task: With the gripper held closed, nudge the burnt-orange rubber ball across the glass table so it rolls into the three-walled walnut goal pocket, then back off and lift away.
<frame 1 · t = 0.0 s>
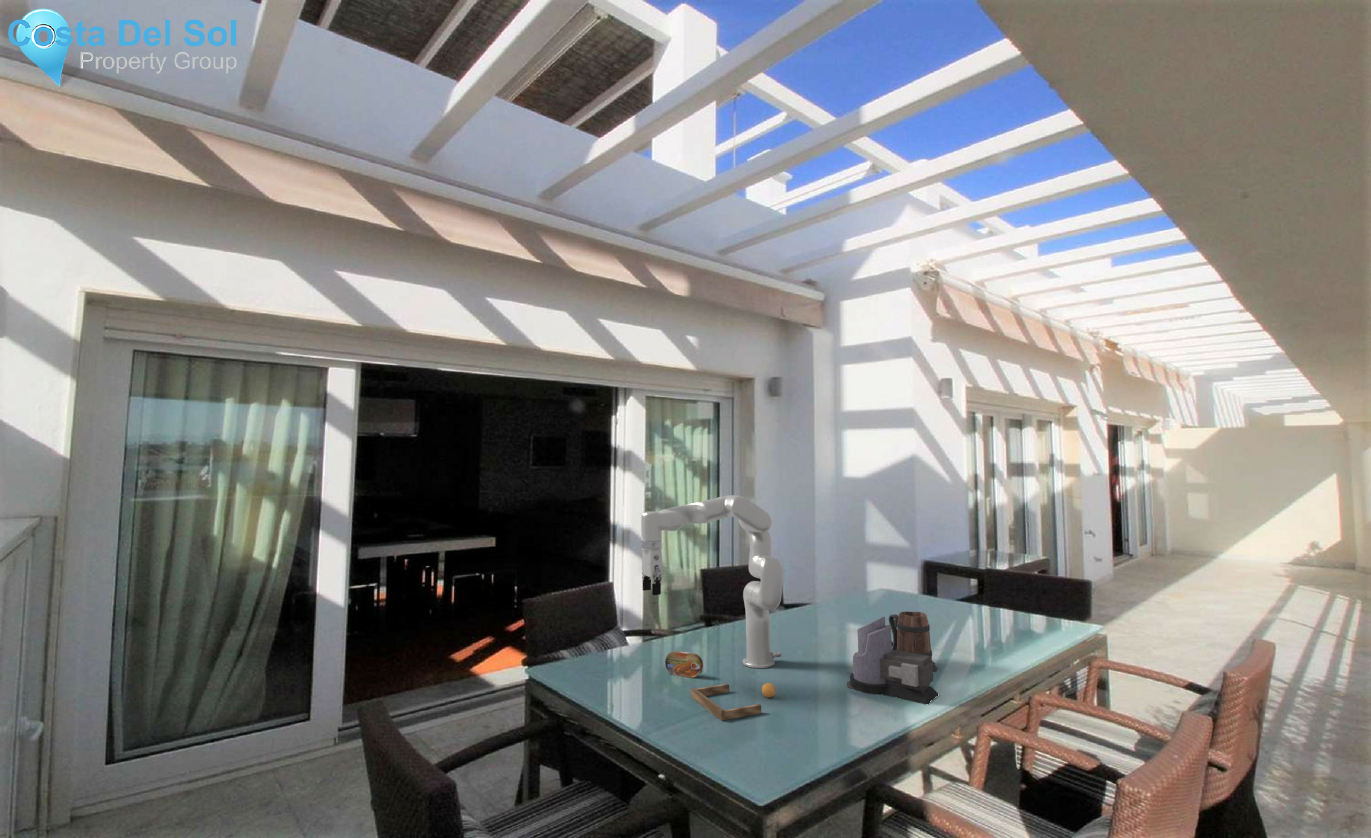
hand: (651, 592, 228), 31 cm above the table, tool pointing down, fingers open, 9 cm apart
ball: (768, 690, 207), point 2 cm above the table
juicer: (889, 690, 213), on the table
goal pocket: (724, 705, 200), on the table
tin: (684, 676, 230), on the table
tankard: (908, 665, 241), on the table
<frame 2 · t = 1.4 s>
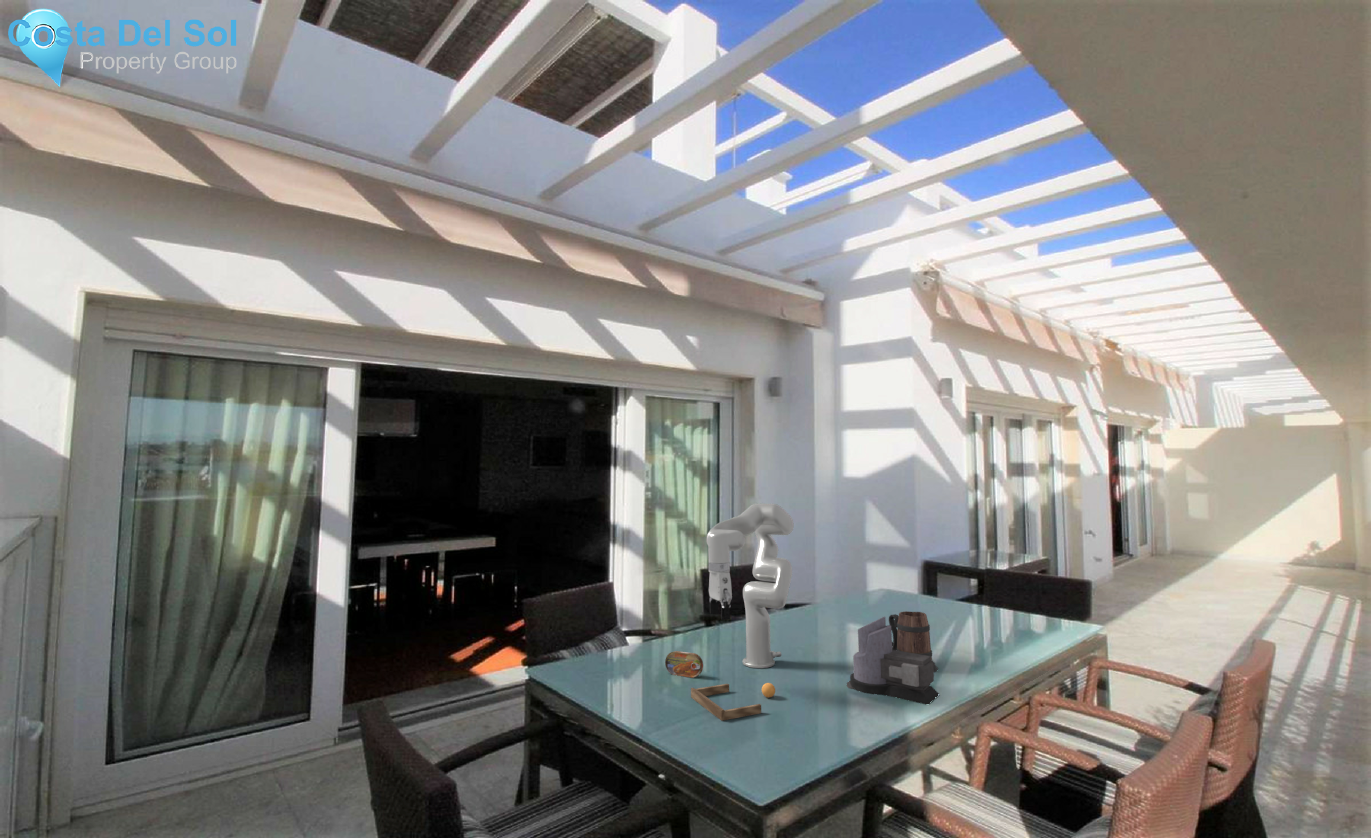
hand: (719, 616, 219), 24 cm above the table, tool pointing down, fingers open, 9 cm apart
nothing on the table moved.
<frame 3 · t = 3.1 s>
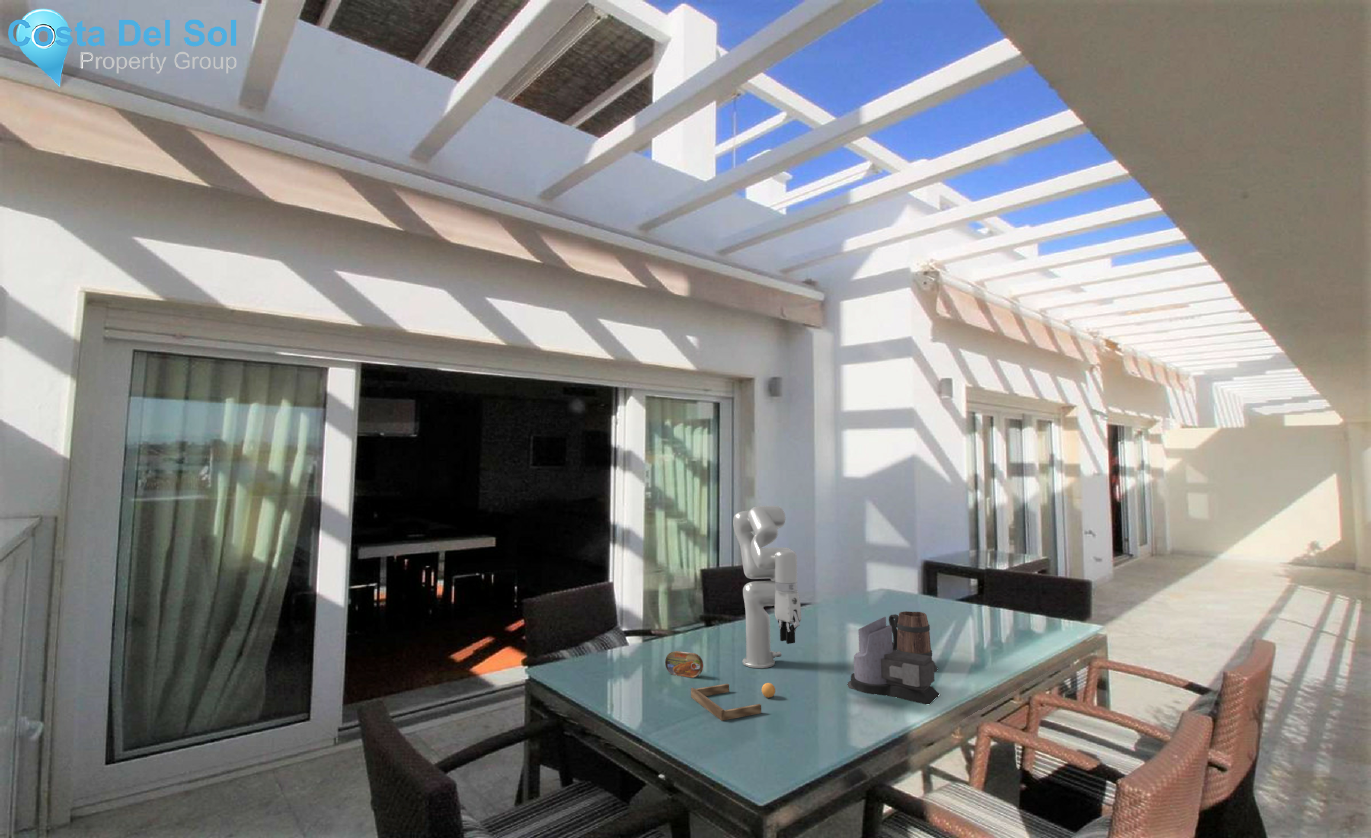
hand: (787, 641, 212), 17 cm above the table, tool pointing down, fingers open, 3 cm apart
nothing on the table moved.
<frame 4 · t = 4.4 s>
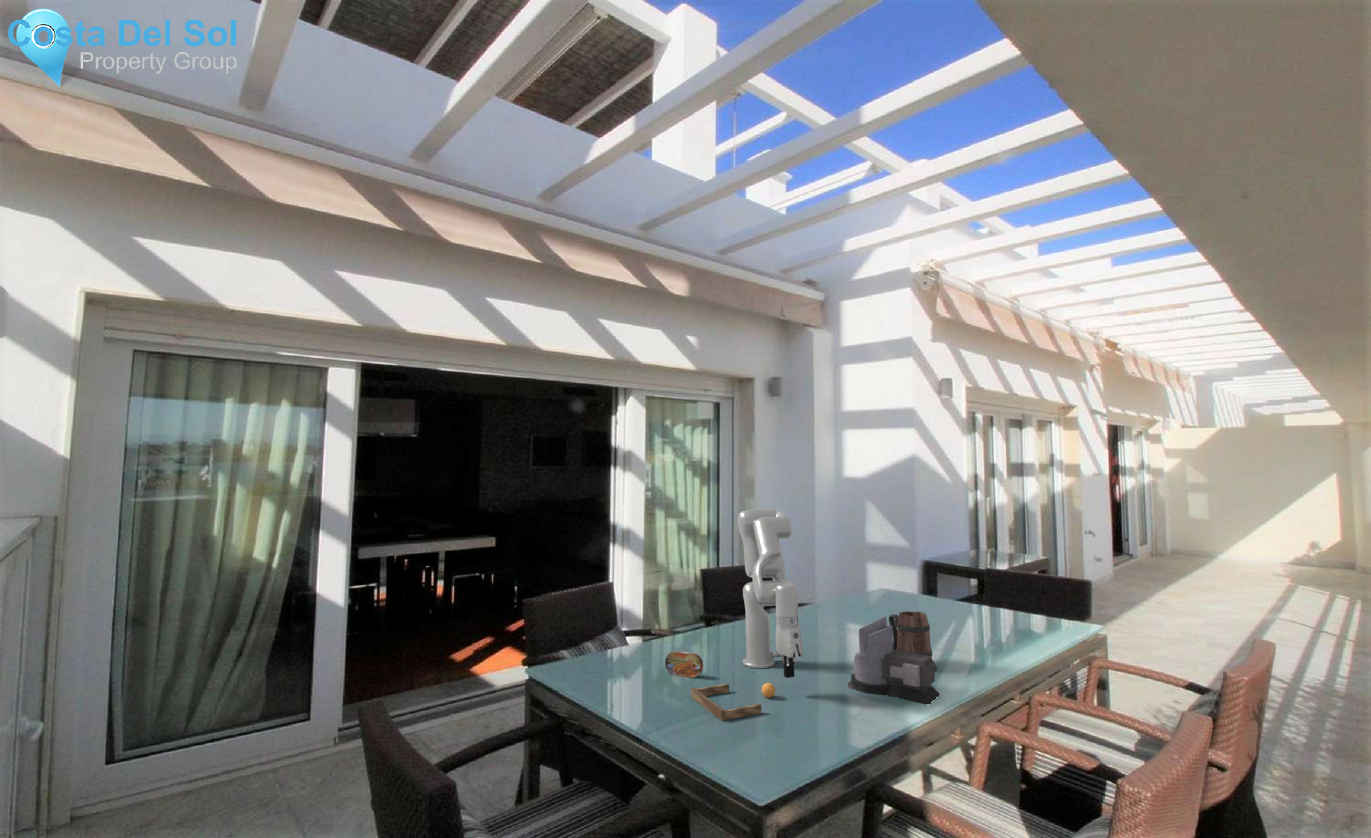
hand: (789, 676, 210), 6 cm above the table, tool pointing down, fingers closed
nothing on the table moved.
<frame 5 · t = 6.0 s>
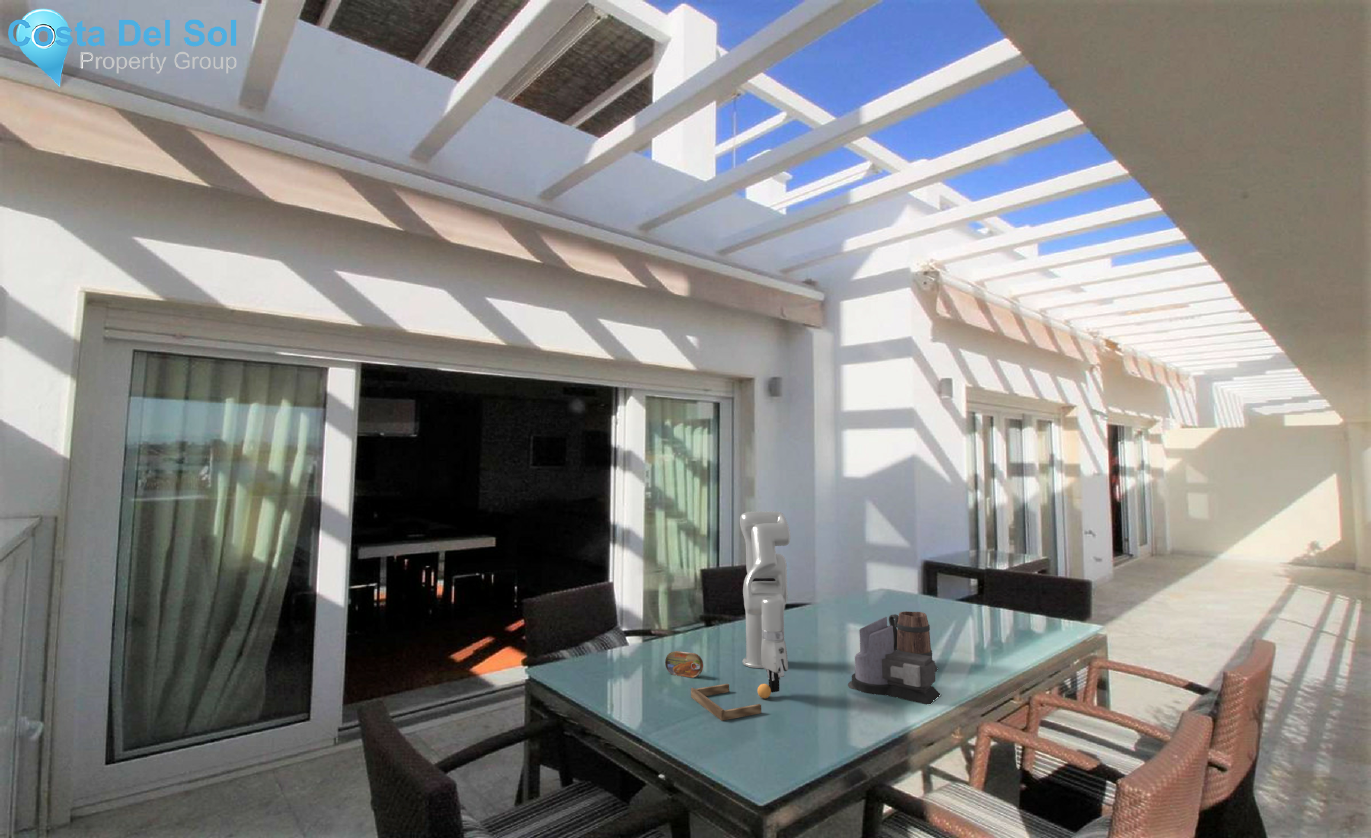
hand: (774, 691, 208), 2 cm above the table, tool pointing down, fingers closed
ball: (764, 691, 206), point 2 cm above the table, tilted 20°, touching gripper
everything else where it was.
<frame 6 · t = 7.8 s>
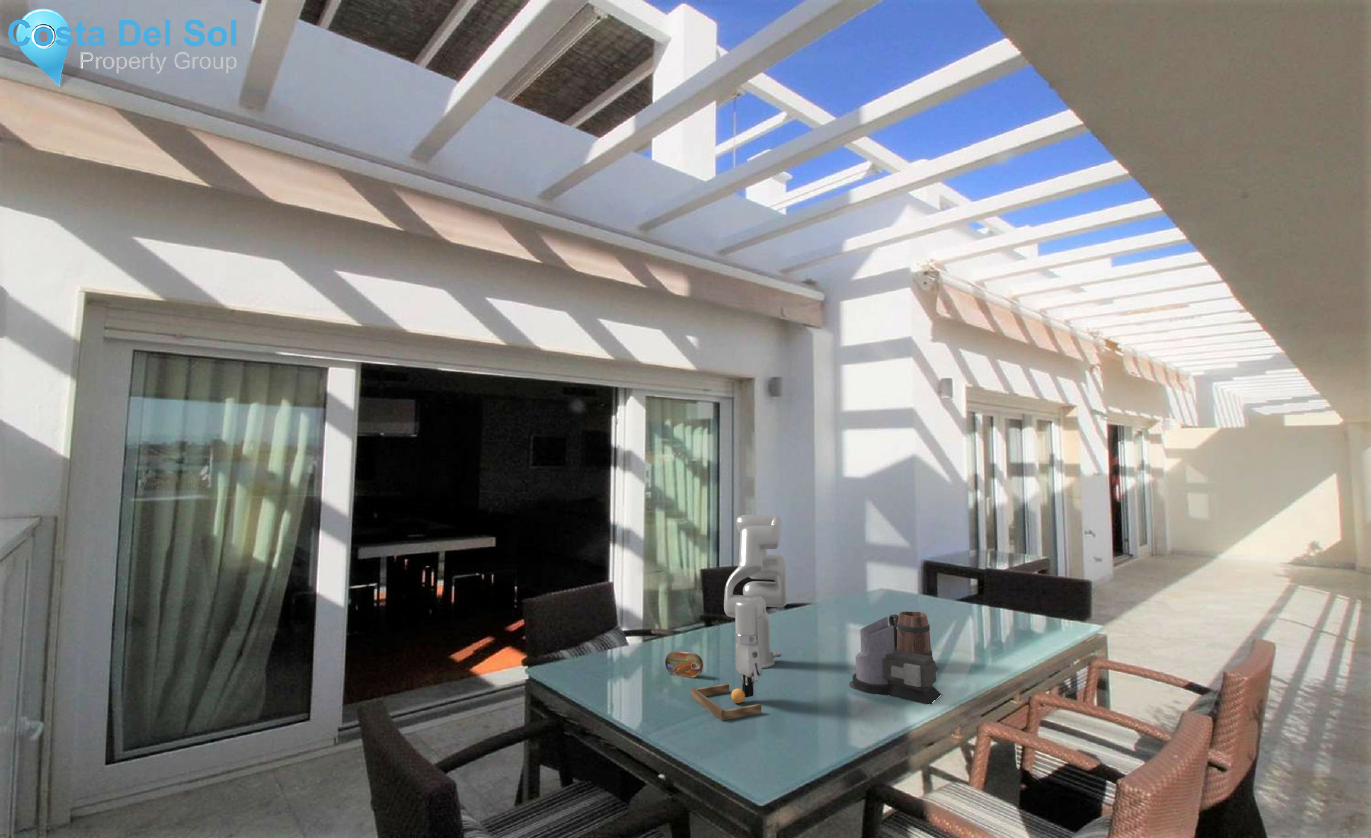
hand: (748, 695, 204), 2 cm above the table, tool pointing down, fingers closed
ball: (738, 695, 202), point 2 cm above the table, tilted 109°, touching gripper
everything else where it was.
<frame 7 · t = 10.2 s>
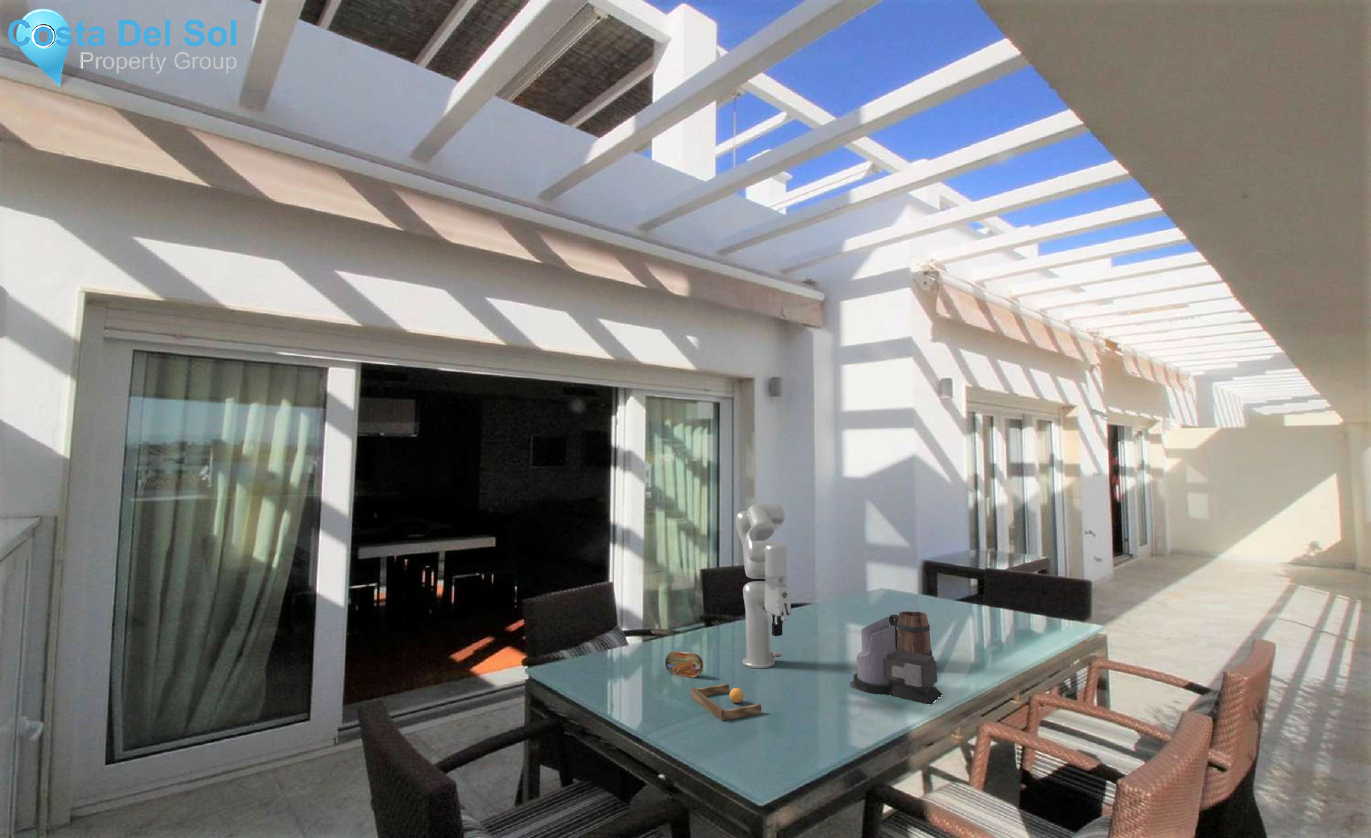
hand: (777, 635, 211), 20 cm above the table, tool pointing down, fingers closed
ball: (736, 695, 202), point 2 cm above the table, tilted 116°
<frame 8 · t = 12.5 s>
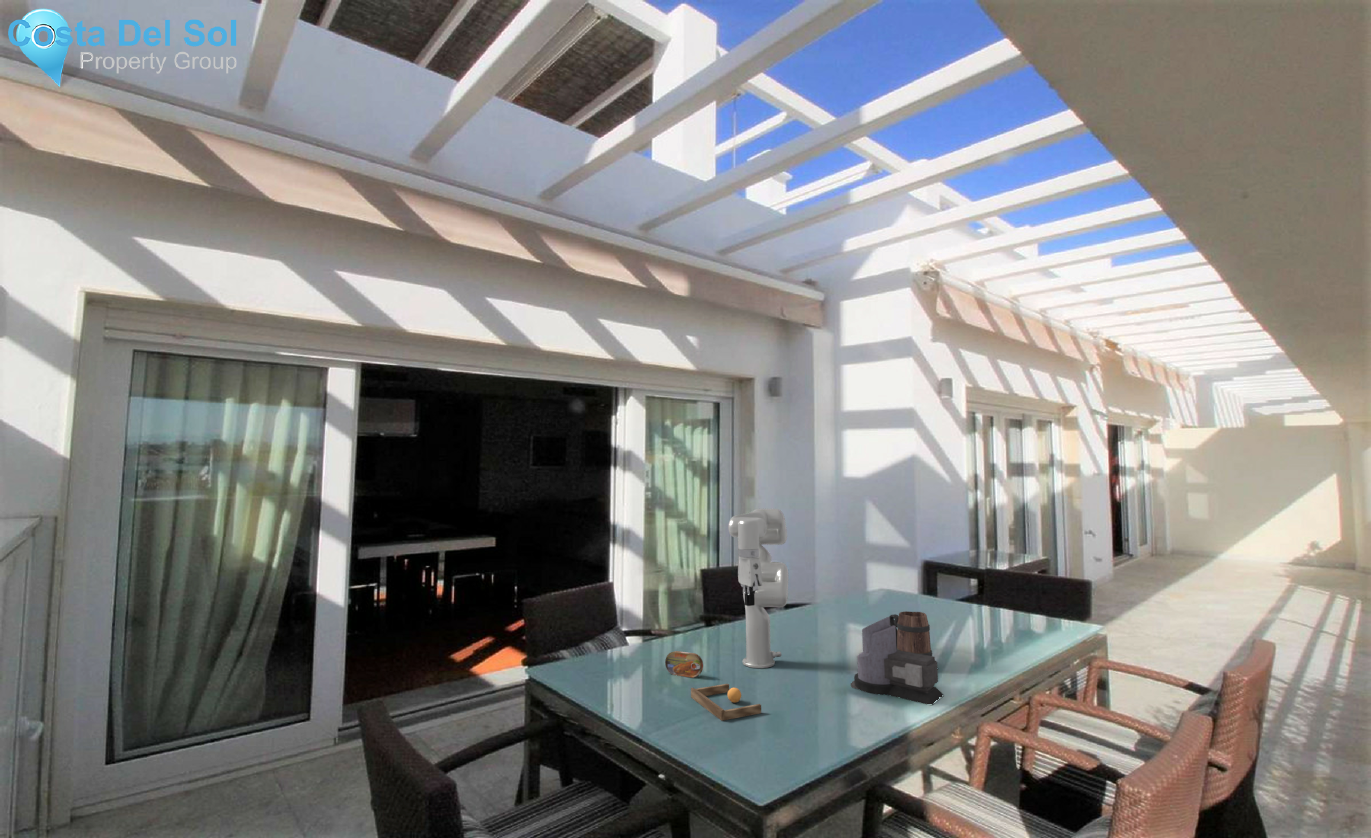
hand: (749, 605, 224), 27 cm above the table, tool pointing down, fingers closed
ball: (734, 695, 203), point 2 cm above the table, tilted 122°
at the end: ball inside the target area on the goal pocket (4.2 cm from its centre), point 2.2 cm above the goal pocket's base; ball moved 12.5 cm from its start; the gripper is holding nothing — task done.
